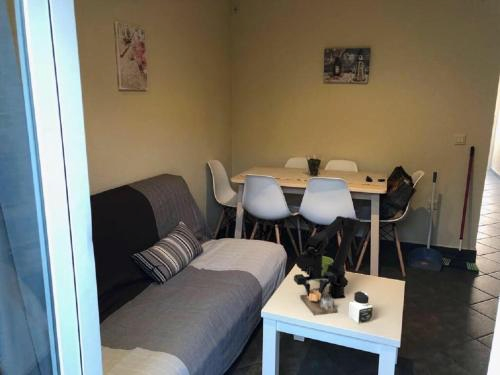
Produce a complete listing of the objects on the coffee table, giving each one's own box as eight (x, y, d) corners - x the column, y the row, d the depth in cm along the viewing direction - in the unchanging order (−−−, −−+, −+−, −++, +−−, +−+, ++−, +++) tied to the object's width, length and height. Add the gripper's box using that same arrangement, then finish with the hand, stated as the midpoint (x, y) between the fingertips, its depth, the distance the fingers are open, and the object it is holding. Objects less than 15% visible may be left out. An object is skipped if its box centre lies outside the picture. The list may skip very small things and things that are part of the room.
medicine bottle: (358, 324, 172) (360, 298, 170) (348, 316, 179) (349, 291, 177) (371, 321, 175) (374, 295, 173) (361, 313, 182) (363, 288, 179)
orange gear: (317, 295, 192) (317, 289, 191) (322, 300, 186) (322, 294, 185) (305, 295, 190) (306, 289, 190) (310, 301, 184) (310, 295, 184)
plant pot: (328, 275, 223) (330, 255, 221) (334, 284, 212) (335, 264, 209) (307, 275, 223) (308, 255, 220) (312, 284, 211) (313, 264, 209)
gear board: (321, 295, 198) (322, 285, 197) (336, 312, 182) (337, 301, 181) (300, 298, 196) (300, 287, 194) (313, 315, 179) (314, 303, 178)
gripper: (327, 256, 195) (325, 286, 198) (290, 258, 190) (289, 289, 193) (337, 264, 184) (335, 296, 187) (298, 267, 180) (297, 300, 183)
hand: (314, 295), depth 188 cm, fingers closed on orange gear, 5 cm apart
